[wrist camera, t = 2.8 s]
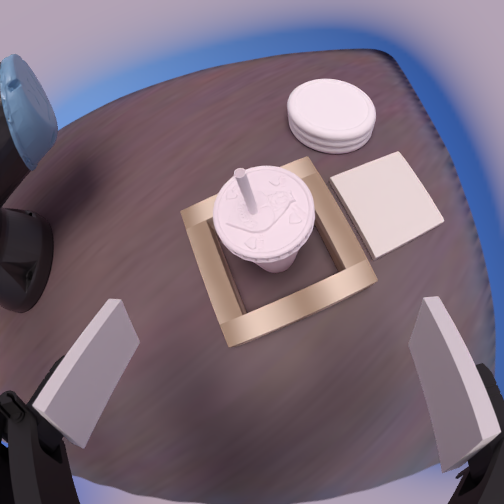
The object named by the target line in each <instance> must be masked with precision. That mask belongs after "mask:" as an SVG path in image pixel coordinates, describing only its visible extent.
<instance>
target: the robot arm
mask: <svg viewBox="0 0 504 504" xmlns="http://www.w3.org/2000/svg"><path fill="white" fill-rule="evenodd" d="M57 134H58V126H57V121H56V117H55V114H54V111H53V109H52V107H51V104H50V102H49V100H48V98H47V96H46V94H45V92H44V90H43V88H42V86H41V84H40V83H39V81H38V79H37V78H36V76H35V74H34V73H33V71H32V70H31V68H30V67H29V66H28V64H27V63H26V62H25V61H24V60H22V58H21V57H20V56H18V55H17V54H12V55H10V56H9V57H6V58H4V59H3V60H2V62H0V305H1V306H2V307H3V308H5V309H7V310H10V311H15V312H20V313H21V312H25V311H27V310H29V309H30V308H31V307H32V306H33V305H34V304H35V303H36V302H37V300H38V299H39V297H40V295H41V293H42V291H43V289H44V287H45V284H46V282H47V279H48V275H49V271H50V267H51V262H52V254H53V237H52V231H51V228H50V225H49V223H48V222H47V220H46V219H45V218H44V217H42V216H40V215H38V214H37V213H35V212H32V211H27V210H26V211H24V210H19V209H10V208H2V206H3V204H4V203H5V202H6V200H7V199H8V198H9V197H10V195H11V194H12V193H13V191H14V190H15V189H16V188H17V187H18V185H19V184H20V183H21V182H22V181H23V179H24V178H25V177H26V176H27V175H28V174H29V173H30V171H31V170H32V171H33V170H34V169H35V168H36V166H37V163H38V162H39V161H40V160H41V159H42V158H43V157H44V155H45V154H46V153H47V152H48V151H49V150H50V149H51V148H52V146H53V145H54V143H55V141H56V139H57ZM139 343H140V341H139V339H138V337H137V334H136V332H135V330H134V328H133V326H132V323H131V321H130V319H129V316H128V314H127V312H126V309H125V307H124V304H123V302H122V300H120V299H108V301H107V302H106V303H105V304H104V306H103V307H102V308H101V309H100V311H99V312H98V313H97V314H96V316H95V317H94V318H93V320H92V321H91V322H90V323H89V325H88V326H87V327H86V329H85V330H84V331H83V333H82V334H81V335H80V337H79V338H78V339H77V341H76V342H75V343H74V345H73V346H72V347H71V349H70V350H69V352H68V353H67V354H66V356H63V357H61V358H60V359H59V360H58V361H56V362H55V364H54V365H53V366H52V368H51V369H50V372H49V373H48V374H47V375H46V377H45V379H43V381H42V382H41V384H40V385H39V387H38V388H37V390H36V391H35V393H34V394H33V396H32V398H31V399H30V401H29V402H28V403H27V404H25V403H24V402H23V401H22V400H21V399H20V398H19V397H18V396H17V395H16V393H15V392H13V391H6V392H4V393H2V394H1V395H0V504H80V502H79V499H78V496H77V493H76V489H75V486H74V482H73V479H72V474H71V470H70V466H69V462H68V457H67V453H66V448H65V444H64V441H63V440H62V438H63V436H64V437H65V438H66V439H67V440H69V441H70V442H71V443H73V444H75V445H77V446H79V447H81V448H83V449H84V448H85V446H86V444H87V442H88V440H89V438H90V436H91V434H92V432H93V430H94V428H95V425H96V423H97V422H98V420H99V418H100V416H101V414H102V412H103V410H104V408H105V406H106V404H107V402H108V400H109V398H110V396H111V394H112V392H113V391H114V389H115V387H116V385H117V383H118V381H119V379H120V378H121V376H122V374H123V372H124V370H125V368H126V367H127V365H128V363H129V361H130V359H131V358H132V356H133V354H134V352H135V350H136V349H137V347H138V345H139ZM408 346H409V349H410V352H411V354H412V357H413V360H414V363H415V366H416V369H417V373H418V376H419V379H420V382H421V385H422V389H423V392H424V396H425V399H426V403H427V406H428V410H429V414H430V418H431V422H432V426H433V430H434V434H435V439H436V443H437V448H438V453H439V458H440V463H441V468H442V473H444V472H447V471H450V470H453V469H456V468H459V467H460V466H462V465H463V464H464V463H466V462H467V461H468V464H469V467H467V468H466V469H464V470H463V471H461V472H460V473H459V474H458V475H457V476H456V478H457V479H458V478H459V477H461V476H462V475H463V477H462V479H461V481H460V483H459V485H458V486H457V488H456V490H455V492H454V494H453V496H452V497H451V499H450V501H449V502H448V504H504V400H503V397H502V395H501V394H500V390H499V388H498V386H497V385H496V381H495V379H494V377H493V374H492V372H491V371H490V370H489V369H488V368H487V367H486V366H485V365H484V364H483V363H482V364H478V365H475V364H474V362H473V360H472V357H471V355H470V353H469V351H468V349H467V347H466V345H465V343H464V341H463V339H462V338H461V336H460V334H459V332H458V330H457V328H456V326H455V324H454V323H453V321H452V319H451V317H450V315H449V314H448V312H447V310H446V309H445V307H444V305H443V303H442V302H441V300H440V298H439V297H438V296H436V297H425V298H423V300H422V304H421V307H420V310H419V314H418V317H417V320H416V323H415V326H414V329H413V332H412V335H411V338H410V341H409V343H408ZM2 438H3V439H4V440H5V441H6V442H8V448H7V447H5V446H4V445H3V444H2V443H1V440H2Z"/></svg>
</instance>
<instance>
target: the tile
mask: <svg viewBox="0 0 504 504" xmlns="http://www.w3.org/2000/svg"><path fill="white" fill-rule="evenodd" d="M329 183H330V184H331V186H332V188H333V189H334V191H335V193H336V194H337V196H338V198H339V199H340V201H341V203H342V204H343V206H344V208H345V210H346V211H347V213H348V215H349V217H350V218H351V220H352V222H353V224H354V225H355V227H356V229H357V231H358V233H359V235H360V236H361V238H362V240H363V242H364V244H365V246H366V248H367V250H368V251H369V253H370V255H371V257H372V259H373V261H374V260H376V259H378V258H380V257H382V256H384V255H386V254H388V253H389V252H391V251H393V250H395V249H397V248H399V247H401V246H403V245H405V244H406V243H408V242H410V241H412V240H414V239H416V238H418V237H419V236H421V235H423V234H425V233H427V232H428V231H430V230H432V229H434V228H436V227H437V226H439V225H441V224H442V223H443V222H444V219H443V217H442V215H441V214H440V212H439V210H438V209H437V207H436V205H435V204H434V202H433V200H432V199H431V197H430V196H429V194H428V192H427V191H426V189H425V188H424V186H423V185H422V183H421V182H420V180H419V179H418V177H417V176H416V174H415V173H414V171H413V170H412V169H411V167H410V166H409V164H408V163H407V162H406V160H405V159H404V158H403V156H402V155H401V153H400V152H399V151H398V152H395V153H393V154H390V155H387V156H385V157H382V158H379V159H377V160H374V161H371V162H369V163H366V164H363V165H361V166H358V167H356V168H353V169H351V170H348V171H346V172H343V173H340V174H338V175H335V176H333V177H330V182H329Z"/></svg>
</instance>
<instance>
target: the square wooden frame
mask: <svg viewBox="0 0 504 504" xmlns="http://www.w3.org/2000/svg"><path fill="white" fill-rule="evenodd" d="M280 168H283V169H286V170H288V171H290V172H292V173H294V174H295V175H297V176H298V177H299V178H301V179H302V180H303V181H304V183H305V184H306V185H307V187H308V188H309V190H310V192H311V194H312V197H313V201H314V209H315V221H314V224H315V226H316V228H317V230H318V232H319V234H320V236H321V238H322V240H323V242H324V244H325V246H326V248H327V250H328V252H329V254H330V255H331V258H332V260H333V262H334V264H335V266H336V268H337V270H338V272H339V273H337V274H335V275H333V276H330V277H328V278H326V279H324V280H322V281H320V282H318V283H315V284H313V285H311V286H309V287H307V288H304V289H302V290H300V291H298V292H296V293H293V294H291V295H289V296H287V297H284V298H282V299H280V300H277V301H275V302H273V303H271V304H268V305H266V306H264V307H261V308H259V309H256V310H254V311H252V312H249V313H247V312H246V309H245V307H244V304H243V302H242V299H241V297H240V294H239V292H238V289H237V287H236V284H235V282H234V279H233V276H232V274H231V271H230V269H229V266H228V264H227V261H226V258H225V256H224V253H223V251H222V248H221V245H220V243H219V240H218V238H217V235H216V229H215V226H214V222H213V207H214V203H215V200H216V197H217V195H218V194H216V195H214V196H212V197H210V198H208V199H205V200H203V201H201V202H199V203H197V204H195V205H193V206H191V207H188V208H186V209H184V210H182V211H180V212H181V215H182V218H183V221H184V224H185V227H186V231H187V234H188V237H189V240H190V243H191V246H192V249H193V252H194V255H195V258H196V261H197V263H198V266H199V269H200V272H201V275H202V278H203V281H204V283H205V286H206V289H207V292H208V295H209V297H210V300H211V303H212V305H213V308H214V311H215V314H216V316H217V319H218V321H219V324H220V327H221V329H222V332H223V335H224V337H225V340H226V342H227V345H228V347H229V348H230V347H236V346H239V345H242V344H244V343H247V342H249V341H252V340H254V339H257V338H259V337H262V336H264V335H267V334H269V333H272V332H274V331H276V330H279V329H281V328H283V327H286V326H288V325H290V324H293V323H295V322H297V321H300V320H302V319H304V318H306V317H308V316H311V315H313V314H315V313H317V312H319V311H321V310H324V309H326V308H328V307H330V306H332V305H334V304H336V303H338V302H340V301H342V300H345V299H347V298H349V297H351V296H353V295H355V294H357V293H359V292H361V291H363V290H365V289H366V288H368V287H370V286H371V285H373V284H374V283H375V282H377V281H378V280H377V277H376V275H375V273H374V271H373V269H372V267H371V265H370V263H369V261H368V259H367V257H366V255H365V254H364V252H363V250H362V248H361V246H360V244H359V242H358V240H357V238H356V237H355V235H354V233H353V231H352V229H351V227H350V226H349V224H348V222H347V220H346V218H345V217H344V215H343V213H342V211H341V210H340V208H339V206H338V204H337V203H336V201H335V199H334V198H333V196H332V194H331V193H330V191H329V189H328V188H327V186H326V184H325V183H324V181H323V179H322V178H321V176H320V175H319V173H318V171H317V170H316V168H315V167H314V165H313V164H312V162H311V160H310V159H309V157H308V156H307V157H304V158H302V159H299V160H296V161H294V162H291V163H289V164H286V165H284V166H281V167H280Z"/></svg>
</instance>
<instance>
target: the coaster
mask: <svg viewBox="0 0 504 504" xmlns="http://www.w3.org/2000/svg"><path fill="white" fill-rule="evenodd" d="M287 110H288V121H289V126H290V129H291V131H292V132H293V134H294V136H295V137H296V138H297V139H298V140H299V141H300V142H301V143H303V144H304V145H306V146H308V147H309V148H311V149H314V150H317V151H320V152H324V153H330V154H343V153H349V152H352V151H355V150H357V149H359V148H361V147H362V146H364V145H365V144H366V143H367V142H368V140H369V139H370V137H371V135H372V130H373V127H374V123H375V120H376V112H375V107H374V105H373V103H372V101H371V99H370V98H369V97H368V96H367V95H366V94H365V93H364V92H363V91H362V90H360V89H359V88H357V87H355V86H354V85H352V84H349V83H347V82H344V81H340V80H335V79H317V80H312V81H309V82H306V83H303V84H302V85H300V86H298V87H297V88H295V89H294V90H293V92H292V93H291V94H290V96H289V99H288V102H287Z"/></svg>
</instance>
